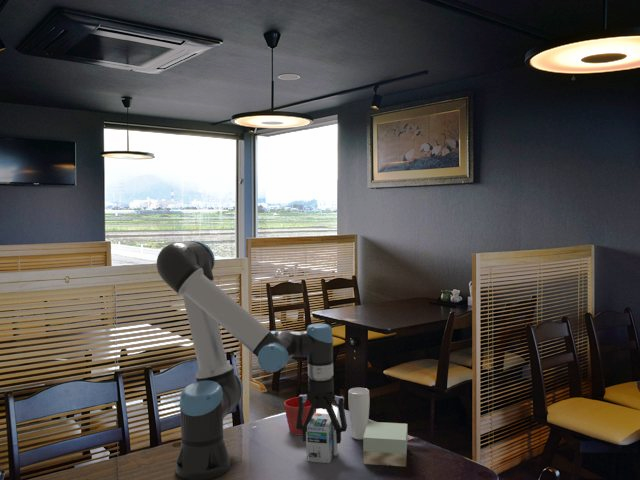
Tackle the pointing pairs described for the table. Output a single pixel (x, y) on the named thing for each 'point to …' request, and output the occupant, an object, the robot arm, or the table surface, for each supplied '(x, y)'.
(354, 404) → the drinking glass
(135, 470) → the table surface
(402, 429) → the sage slab
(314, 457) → the light bulb box
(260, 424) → the table surface
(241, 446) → the table surface
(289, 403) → the flower pot
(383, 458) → the birch slab
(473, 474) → the table surface
